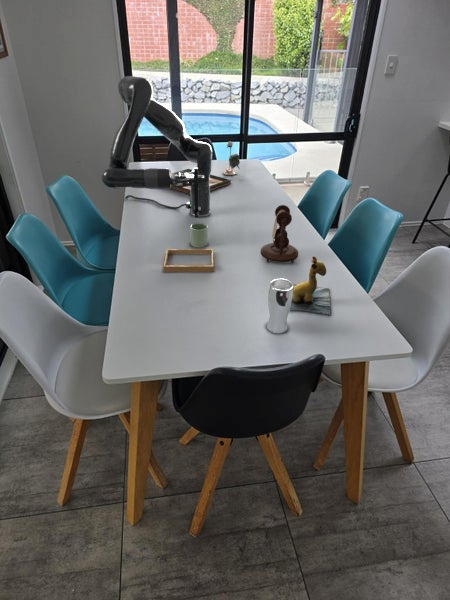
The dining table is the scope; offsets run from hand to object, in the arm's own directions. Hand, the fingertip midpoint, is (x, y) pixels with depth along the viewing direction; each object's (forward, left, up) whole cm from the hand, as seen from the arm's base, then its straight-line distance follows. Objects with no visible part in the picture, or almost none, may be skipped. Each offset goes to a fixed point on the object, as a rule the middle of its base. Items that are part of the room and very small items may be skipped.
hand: (203, 179), depth 150 cm
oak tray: (+8, -14, -27) cm, 32 cm away
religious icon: (-68, +47, -28) cm, 88 cm away
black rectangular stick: (-1, -3, -14) cm, 14 cm away
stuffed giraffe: (+52, -1, -28) cm, 59 cm away
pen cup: (-2, -1, -27) cm, 28 cm away
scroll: (+27, +16, -28) cm, 42 cm away
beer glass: (+57, -19, -28) cm, 66 cm away
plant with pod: (-68, +79, -28) cm, 108 cm away
